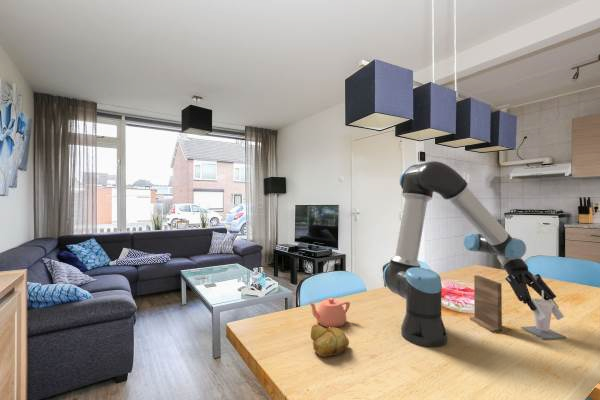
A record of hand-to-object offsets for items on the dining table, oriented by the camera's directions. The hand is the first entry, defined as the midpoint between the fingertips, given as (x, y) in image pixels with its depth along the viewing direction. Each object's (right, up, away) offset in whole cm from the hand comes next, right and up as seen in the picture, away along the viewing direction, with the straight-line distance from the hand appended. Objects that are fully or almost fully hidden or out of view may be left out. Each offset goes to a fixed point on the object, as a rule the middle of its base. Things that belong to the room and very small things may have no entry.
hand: (551, 318), depth 101 cm
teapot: (-78, -7, +13) cm, 79 cm away
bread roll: (-79, -7, -9) cm, 80 cm away
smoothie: (0, -5, +3) cm, 6 cm away
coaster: (0, -7, +3) cm, 8 cm away
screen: (-16, -7, +10) cm, 20 cm away
